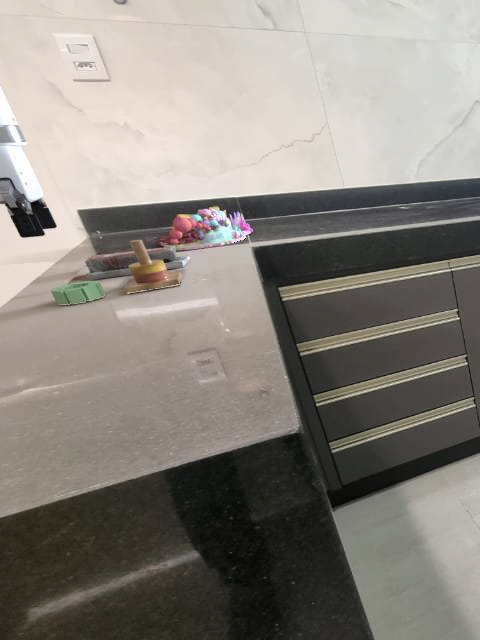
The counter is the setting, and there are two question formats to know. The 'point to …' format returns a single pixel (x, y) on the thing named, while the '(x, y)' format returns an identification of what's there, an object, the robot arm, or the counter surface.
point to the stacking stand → (149, 271)
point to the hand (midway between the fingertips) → (40, 232)
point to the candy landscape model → (205, 230)
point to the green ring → (78, 292)
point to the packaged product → (130, 262)
